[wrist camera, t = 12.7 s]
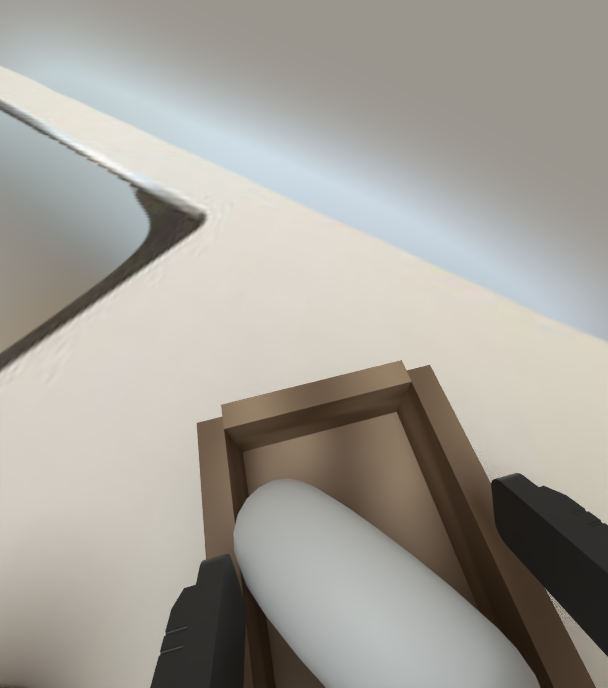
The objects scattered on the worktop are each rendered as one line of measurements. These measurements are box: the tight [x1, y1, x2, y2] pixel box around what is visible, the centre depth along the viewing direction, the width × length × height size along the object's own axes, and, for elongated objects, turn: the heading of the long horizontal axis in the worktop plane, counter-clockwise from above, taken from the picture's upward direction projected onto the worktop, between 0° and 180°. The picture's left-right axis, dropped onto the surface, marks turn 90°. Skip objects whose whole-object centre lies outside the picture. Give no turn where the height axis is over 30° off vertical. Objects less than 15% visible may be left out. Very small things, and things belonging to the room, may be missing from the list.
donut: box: [233, 478, 540, 688], centre depth 11 cm, size 10×3×10 cm, turn 53°
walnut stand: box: [197, 360, 596, 688], centre depth 14 cm, size 12×17×5 cm
